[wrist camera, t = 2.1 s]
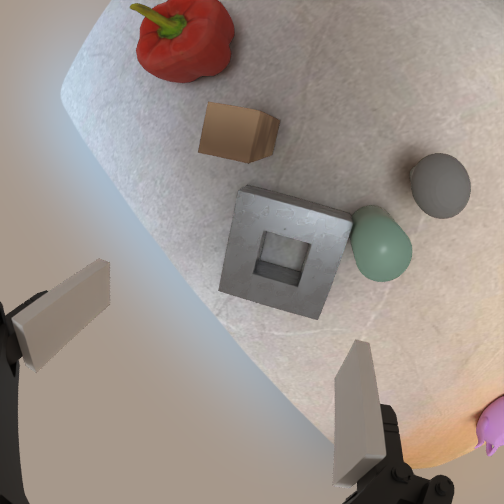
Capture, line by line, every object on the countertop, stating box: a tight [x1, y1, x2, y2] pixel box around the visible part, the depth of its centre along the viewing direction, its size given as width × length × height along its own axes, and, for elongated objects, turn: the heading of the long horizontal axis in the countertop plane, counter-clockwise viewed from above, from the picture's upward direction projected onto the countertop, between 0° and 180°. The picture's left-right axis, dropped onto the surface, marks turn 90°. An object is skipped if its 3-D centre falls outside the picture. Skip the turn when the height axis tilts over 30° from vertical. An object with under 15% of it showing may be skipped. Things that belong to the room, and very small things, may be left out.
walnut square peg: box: [198, 102, 280, 164], centre depth 27 cm, size 4×4×12 cm
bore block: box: [218, 185, 353, 320], centre depth 34 cm, size 12×12×4 cm
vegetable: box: [130, 0, 234, 83], centre depth 25 cm, size 11×10×10 cm
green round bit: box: [349, 206, 412, 282], centre depth 30 cm, size 6×6×8 cm
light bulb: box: [410, 153, 471, 219], centre depth 25 cm, size 6×6×10 cm
